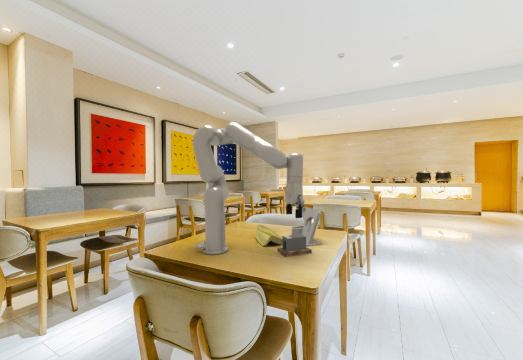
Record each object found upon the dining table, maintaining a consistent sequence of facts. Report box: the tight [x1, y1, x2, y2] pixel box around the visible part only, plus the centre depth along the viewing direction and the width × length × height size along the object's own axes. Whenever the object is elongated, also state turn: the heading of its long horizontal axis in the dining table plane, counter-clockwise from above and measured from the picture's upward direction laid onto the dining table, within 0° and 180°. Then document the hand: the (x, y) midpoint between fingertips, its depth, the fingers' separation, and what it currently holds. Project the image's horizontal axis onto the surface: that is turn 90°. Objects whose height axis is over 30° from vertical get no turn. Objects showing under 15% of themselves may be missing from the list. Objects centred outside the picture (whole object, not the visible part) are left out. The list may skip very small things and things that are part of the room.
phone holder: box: [291, 206, 322, 247], centre depth 129 cm, size 17×10×18 cm, turn 21°
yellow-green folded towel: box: [255, 224, 282, 247], centre depth 130 cm, size 20×7×10 cm
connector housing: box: [281, 234, 307, 252], centre depth 112 cm, size 10×5×6 cm, turn 110°
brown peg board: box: [276, 246, 312, 258], centre depth 112 cm, size 14×8×6 cm, turn 110°
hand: (293, 216), depth 111 cm, fingers open, 9 cm apart
